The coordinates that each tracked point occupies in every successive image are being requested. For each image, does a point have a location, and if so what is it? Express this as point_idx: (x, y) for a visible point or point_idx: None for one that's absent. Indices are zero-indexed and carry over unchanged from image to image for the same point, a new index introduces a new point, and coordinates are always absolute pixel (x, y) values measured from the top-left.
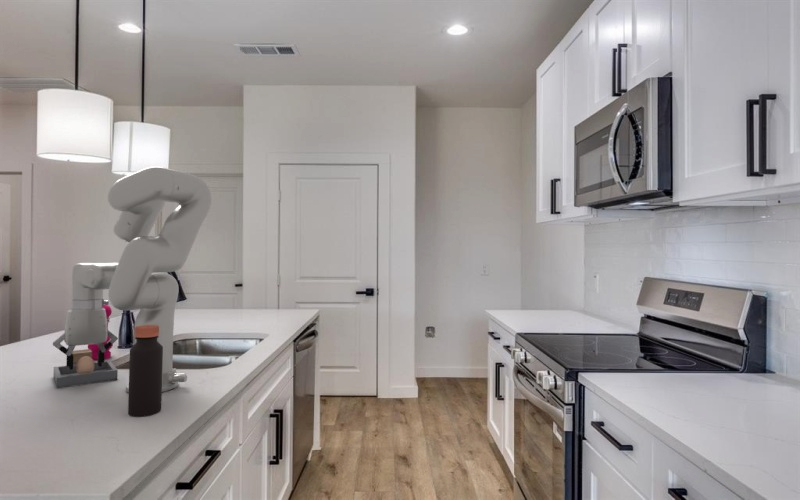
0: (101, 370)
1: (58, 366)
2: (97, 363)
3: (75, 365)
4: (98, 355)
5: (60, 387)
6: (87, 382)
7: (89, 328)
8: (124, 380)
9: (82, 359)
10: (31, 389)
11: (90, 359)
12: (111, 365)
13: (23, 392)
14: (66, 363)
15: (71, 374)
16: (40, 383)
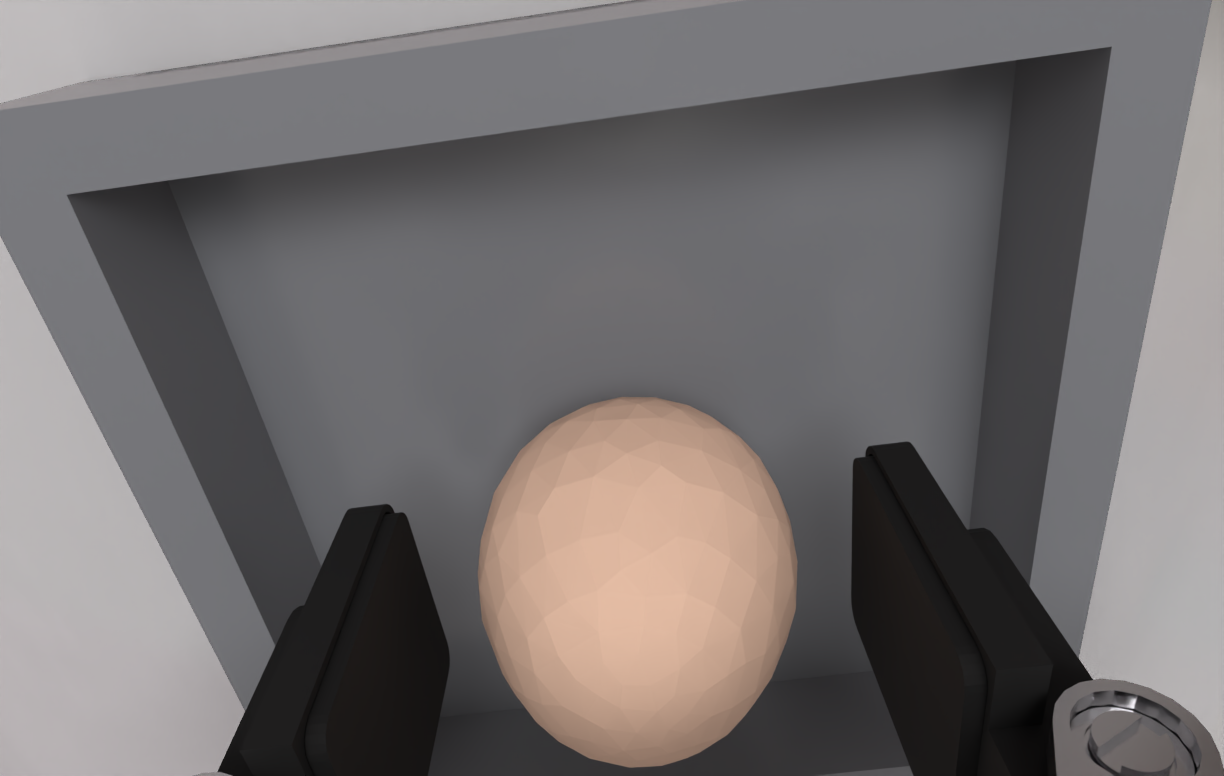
0: (902, 153)
1: (34, 103)
2: (857, 460)
3: (410, 144)
4: (924, 723)
5: None
6: None
7: None
8: None
9: (585, 754)
10: (88, 676)
11: (737, 723)
12: (1072, 490)
13: (57, 745)
14: (286, 633)
15: (400, 240)
16: (65, 459)
